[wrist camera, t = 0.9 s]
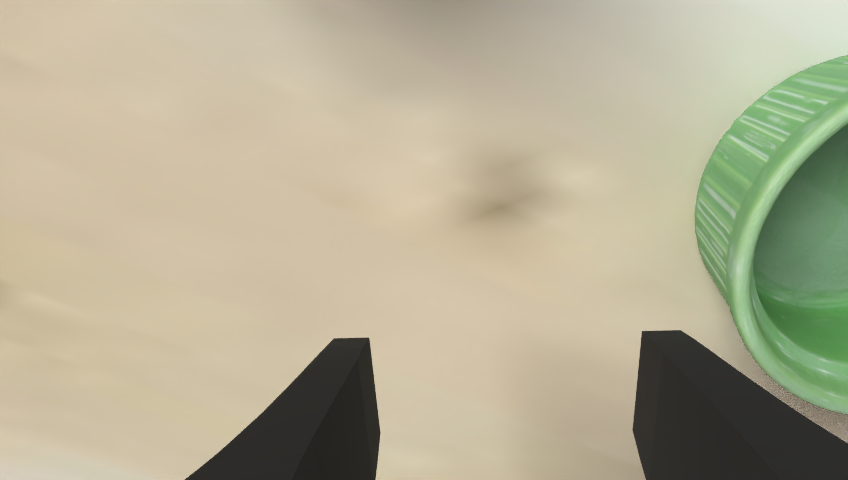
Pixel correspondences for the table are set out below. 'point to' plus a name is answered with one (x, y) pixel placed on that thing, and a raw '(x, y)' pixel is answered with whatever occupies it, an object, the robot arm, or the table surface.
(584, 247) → the table surface
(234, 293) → the table surface
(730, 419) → the robot arm
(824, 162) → the ramekin
